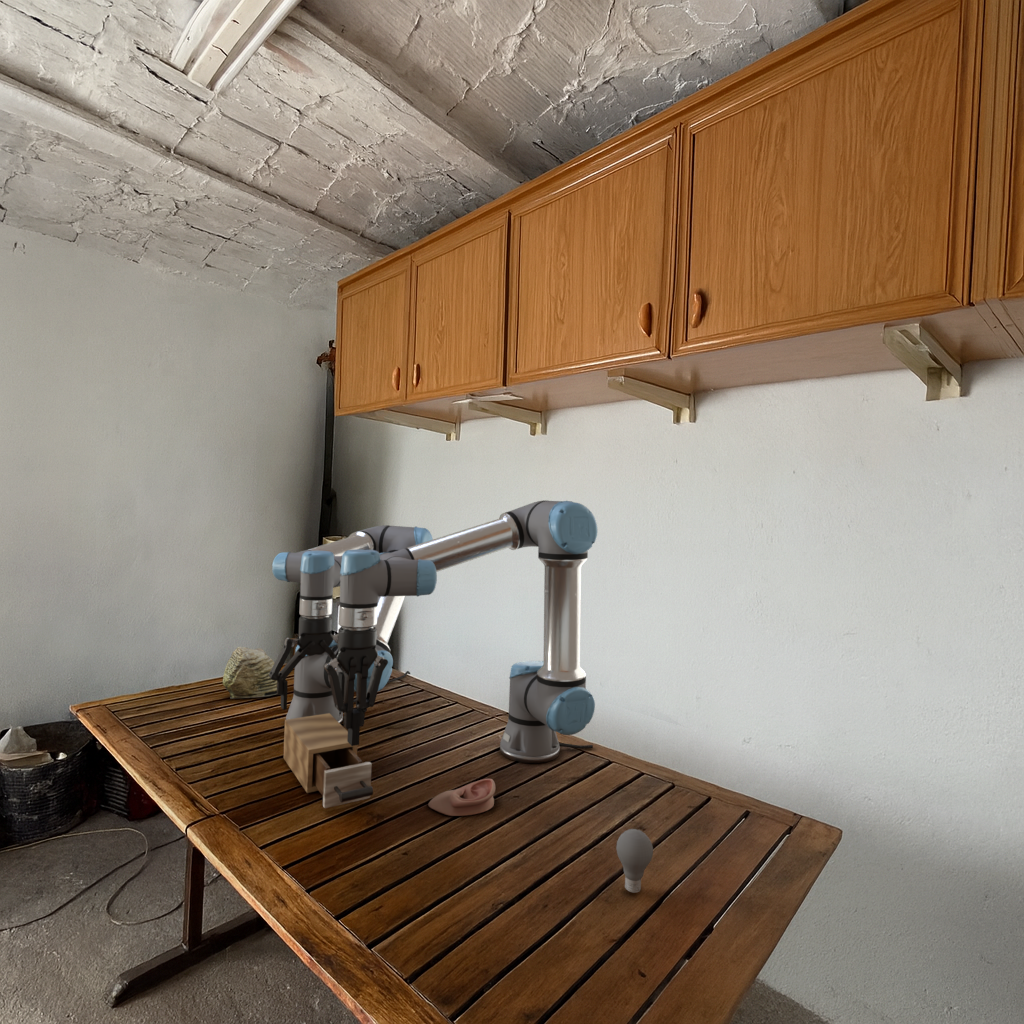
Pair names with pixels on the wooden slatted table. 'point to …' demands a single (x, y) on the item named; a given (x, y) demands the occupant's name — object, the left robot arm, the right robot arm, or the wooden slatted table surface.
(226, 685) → the fossil
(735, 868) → the wooden slatted table surface
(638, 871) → the light bulb
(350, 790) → the drawer
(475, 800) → the anatomical model
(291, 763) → the cabinet
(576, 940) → the wooden slatted table surface
